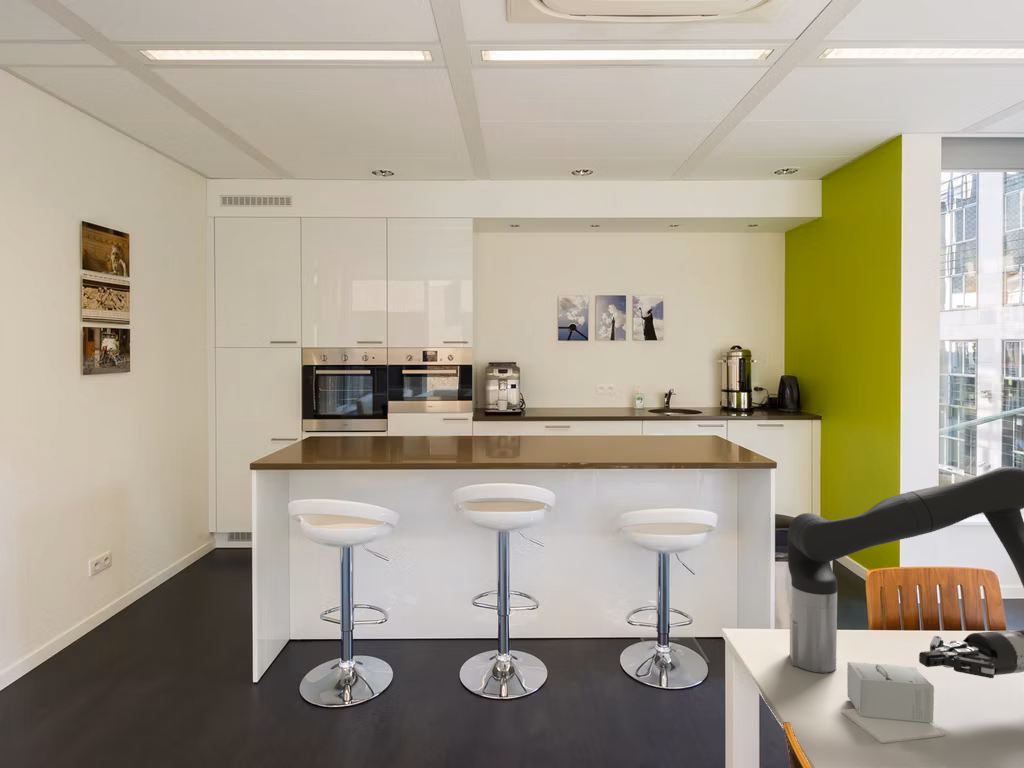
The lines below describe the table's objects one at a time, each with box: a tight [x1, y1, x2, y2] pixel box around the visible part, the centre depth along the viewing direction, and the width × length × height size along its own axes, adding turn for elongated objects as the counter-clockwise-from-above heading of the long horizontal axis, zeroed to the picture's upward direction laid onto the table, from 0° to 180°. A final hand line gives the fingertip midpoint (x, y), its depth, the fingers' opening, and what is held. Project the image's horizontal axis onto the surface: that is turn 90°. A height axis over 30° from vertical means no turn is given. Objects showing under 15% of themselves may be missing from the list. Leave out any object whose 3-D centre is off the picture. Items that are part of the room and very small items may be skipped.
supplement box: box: [846, 661, 935, 724], centre depth 118 cm, size 7×7×13 cm
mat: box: [841, 708, 946, 744], centre depth 114 cm, size 13×10×1 cm
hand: (922, 659), depth 115 cm, fingers closed
